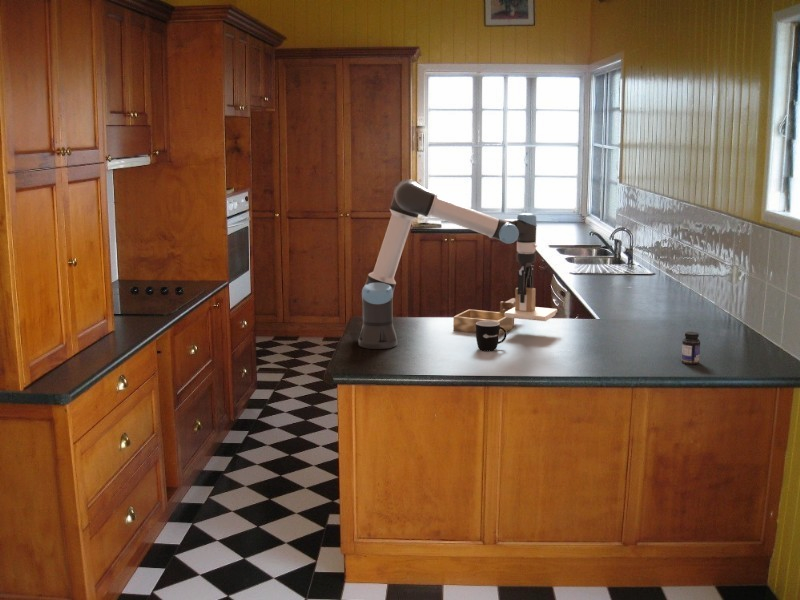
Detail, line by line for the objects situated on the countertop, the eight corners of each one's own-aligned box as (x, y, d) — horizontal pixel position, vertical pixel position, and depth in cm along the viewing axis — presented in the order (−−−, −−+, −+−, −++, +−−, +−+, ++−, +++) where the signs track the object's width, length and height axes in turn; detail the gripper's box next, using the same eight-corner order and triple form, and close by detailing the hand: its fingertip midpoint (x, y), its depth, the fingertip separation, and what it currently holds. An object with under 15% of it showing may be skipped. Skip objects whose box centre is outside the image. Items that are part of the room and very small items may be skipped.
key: (504, 308, 374) (504, 302, 374) (513, 303, 384) (513, 297, 383) (512, 308, 373) (512, 303, 372) (521, 304, 382) (521, 298, 382)
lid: (504, 318, 355) (504, 290, 353) (517, 310, 369) (518, 284, 366) (544, 322, 347) (545, 294, 345) (557, 314, 361) (557, 287, 359)
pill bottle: (695, 360, 321) (697, 330, 318) (701, 364, 315) (703, 334, 312) (678, 360, 320) (680, 330, 318) (684, 365, 314) (686, 334, 312)
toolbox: (453, 330, 366) (453, 306, 364) (470, 321, 382) (470, 298, 380) (498, 335, 357) (499, 310, 355) (514, 326, 373) (514, 302, 371)
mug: (479, 353, 332) (480, 326, 330) (472, 347, 340) (472, 321, 338) (510, 351, 334) (510, 324, 332) (502, 345, 343) (502, 319, 341)
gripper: (527, 255, 345) (526, 314, 349) (542, 249, 360) (540, 306, 365) (509, 254, 348) (508, 312, 353) (524, 248, 363) (523, 304, 368)
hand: (525, 309), depth 359 cm, fingers closed on lid, 4 cm apart
